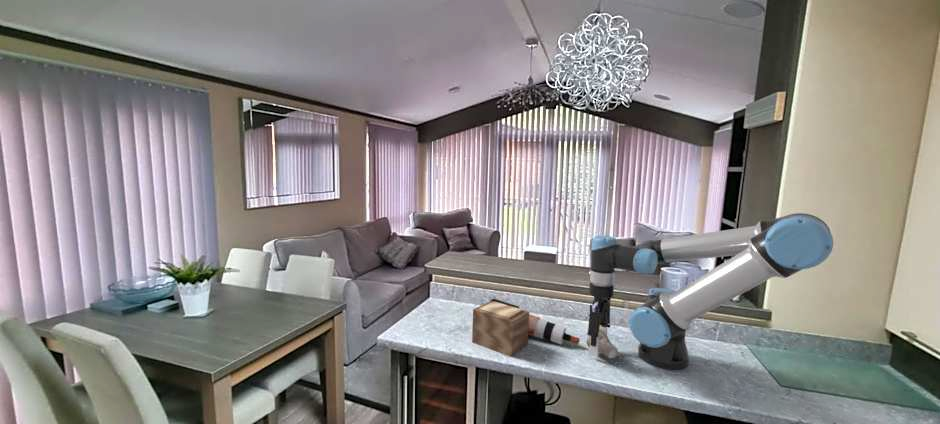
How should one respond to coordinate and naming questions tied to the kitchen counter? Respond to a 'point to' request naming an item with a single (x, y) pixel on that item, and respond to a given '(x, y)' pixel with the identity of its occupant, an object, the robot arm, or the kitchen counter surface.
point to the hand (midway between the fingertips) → (597, 349)
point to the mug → (605, 345)
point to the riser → (500, 327)
